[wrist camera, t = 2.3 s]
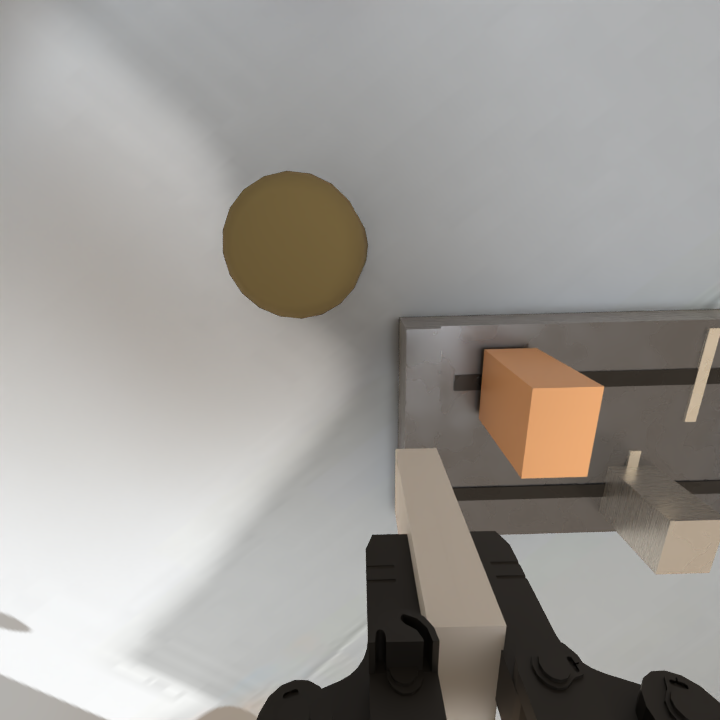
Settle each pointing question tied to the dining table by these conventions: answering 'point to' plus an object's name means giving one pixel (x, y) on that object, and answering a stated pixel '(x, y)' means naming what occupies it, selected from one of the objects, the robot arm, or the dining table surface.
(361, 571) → the dining table surface
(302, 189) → the cork
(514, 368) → the fader
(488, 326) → the slider panel
